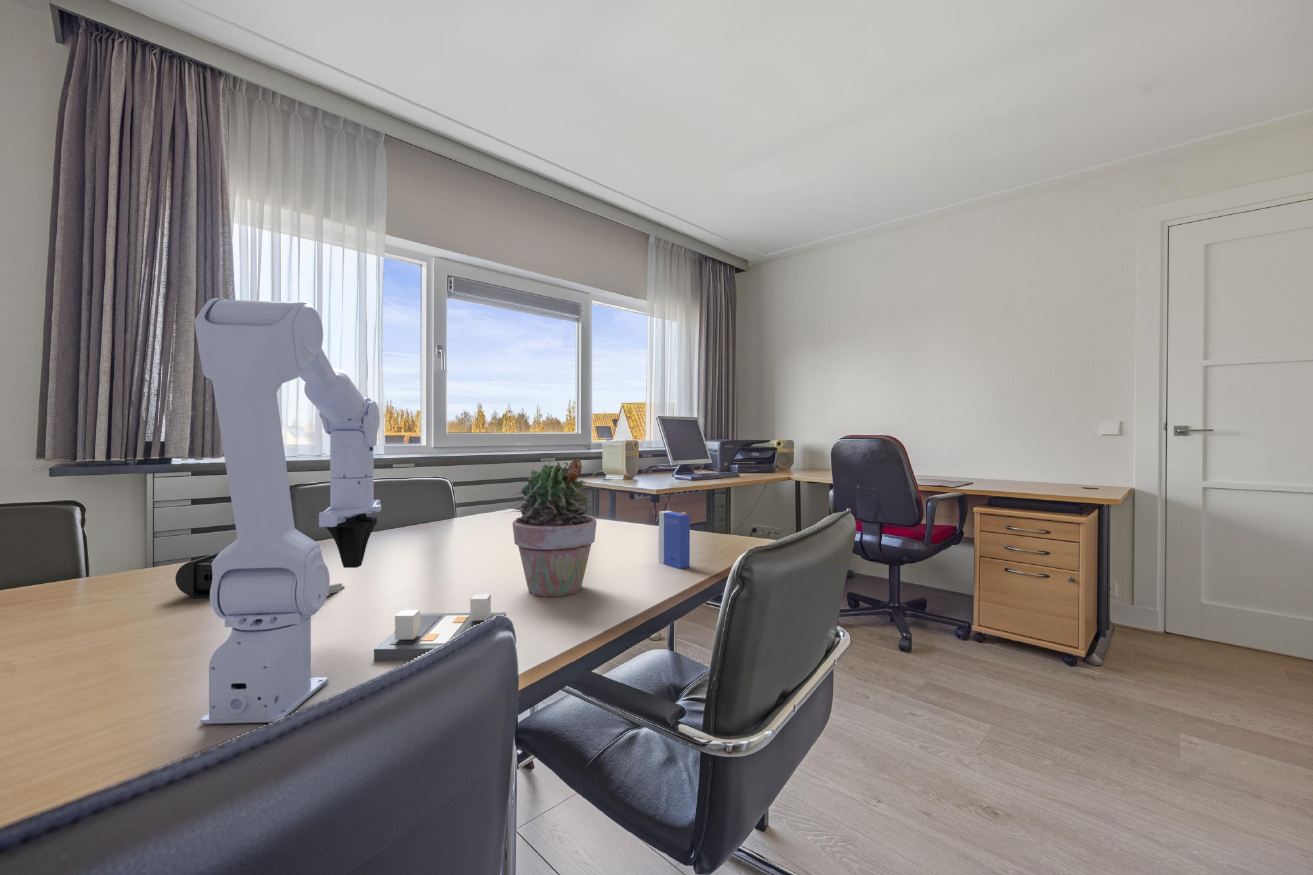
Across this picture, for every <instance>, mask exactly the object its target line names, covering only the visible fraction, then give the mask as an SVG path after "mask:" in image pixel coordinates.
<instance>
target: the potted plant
mask: <svg viewBox="0 0 1313 875" xmlns="http://www.w3.org/2000/svg"><path fill="white" fill-rule="evenodd" d="M564 464H565V466H564V467H562V465H564ZM582 467H583V466H582V461H581V460H580V459H577V458H575V459H573V460H572V461H571V462H570V463H569V462H568V461H565V462H563V463H562V464H560V461H557V465H550V464H549V465H547V464H544V465H542V467H541V470H539V471H537V470H534V469H532V470H531V472H530V476H529V477H528V480H527V484H526V485H525V486H523V488H522V489H521V491H519V492H518V493H515V494H513V495H512V497H514V496H516V495H519V494H522V495H523V496H524V497H523V499H524V500H521V501H519V502H518V503H515V504H513V505H512V506H510V508H511V507H514V506H517V505H518V504H520V503H521V504H520V507H518V508H516V509H514V510H512V511H510V512H507V514H509V513H510V514H511V513H512V512H513V513H514V512H515V513H519V514H518V515H517V516H519V515H520V514H521V516H519V517H517V518H515V519H514V520H513V521H512V531H513V541H514V545H516V546H517V548H518V552H519V555H520V559H521V563H522V568H523V573H524V577H525V578H524V579H525V582H526V585H527V589H528V592H529V594H532V595H533V596H535V597H536V596H537V597H542V598H556V597H557V598H558V597H559V598H560V597H565V596H571V595H574V594H576V593H579V592H580V590H581V589H582V587H583V582H584V578H585V573H586V569H587V564H588V561H589V560H588V559H589V557H590V556H589V555H590V551H591V548H592V544H593V543H595V541H596V540H595V539H596V532H597V531H596V529H597V518H595V517H594V516H591V515H588V513H587V512H588V510H590V509H592V508H591V507H590V508H589V506H588V505H587V507H586V506H583V505H584V504H586V503H587V502H589V503H591V501H589V500H587V499H590V496H587V495H586V491H585V489H591V487H589V486H586V481H584V480H583V479H581V480H578V479H579V478H580V474H581V473H582ZM593 489H595V490H597V489H598V488H596V487H595V488H594V487H593ZM601 490H604V489H602V488H601ZM585 513H586V514H585ZM502 514H504V515H505V512H504V513H502Z"/></svg>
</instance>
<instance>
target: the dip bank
mask: <svg viewBox="0 0 1313 875" xmlns="http://www.w3.org/2000/svg"><path fill="white" fill-rule="evenodd" d="M496 615H504V616H506V617H507V612H503V611H502V612H491V615H490V617H489V618H492V617H493V616H496ZM489 618H488V619H489ZM488 619H487V620H488ZM484 621H485V620H477V621H470V612H442V613H441V612H440V613H438V612H435V613H433V612H431V613H420V633H419V634H418V635H417V636H416V637H415V638H414V639H399V640H395V630H394V631H393V632H392V633H390V634H389V636H387V637H386V638H385V639H384V640H383V641H381V643H379V644H378V645H376V647H375V648H374V649H373V661H375V662H376V661H379V662H380V661H381V662H382V661H413V660H412V659H414V658H417V657H418V656H421V655H422V654H425V653H426V652H429V651H430V650H432V649H434V648H436V647H437V646H440V645H442V644H443V643H446V641H449V640H450V639H452V638H453V637H456V636H457V635H459V634H461V633H463V632H465V631H466V630H467V629H469V628H471V627H473V626H474V625H477V624H480V623H481V622H484Z"/></svg>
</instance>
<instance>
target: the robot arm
mask: <svg viewBox="0 0 1313 875" xmlns="http://www.w3.org/2000/svg"><path fill="white" fill-rule="evenodd" d="M321 319H322V318H321V316H320V315H319V312H318V311H317V309H315V307H314V306H313V305H312V304H311V303H310V302H308V301H304V300H299V301H296V302H295V301H272V300H270V301H269V300H244V299H243V300H242V299H241V300H239V299H225V298H220V297H215V298H210V299H209V300H208V301H206V303H205V304H204V305H203V307H202V308H201V309H200V312H199V313H198V314H197V316H196V317H195V318H194V328H195V335H196V341H197V342H196V343H197V347H198V353H199V359H200V365H201V370H202V375H203V376H204V377H205V378H207V379H209V380H211V382H212V389H213V394H214V401H215V406H216V412H217V413H216V414H217V419H218V425H219V431H220V437H221V439H220V440H221V443H222V444H221V445H222V449H223V457H224V462H225V469H226V475H227V482H228V486H229V487H228V488H229V493H230V499H231V505H232V512H233V519H234V524H235V530H236V536H237V537H236V538H237V539H235V540H234V541H232V543H230V544H229V545H227V546H226V547H225V548H223V549H222V550H221V551H219V552H220V553H219V554H218V555H217V557H216V558H215V559H214V561H213V562H212V564H211V565H212V585H211V589H210V598H209V600H210V601H209V602H210V605H211V608H212V610H213V611H214V614H215V615H216V616H217V617H218V618H220V619H223V620H224V628H231V632H230V635H229V636H228V638H227V639H226V641H225V642H223V643H222V644H221V645H220V646H218V647H217V649H216V650H215V651H214V652H213V654H212V655H211V658H210V660H209V664H208V713H207V714H205V715H204V716H202V717H201V718H200V724H202V725H208V724H209V725H211V724H214V725H215V724H216V725H218V724H254V723H258V724H260V723H261V724H263V723H273V722H272V721H276V720H278V719H280V718H282V717H285V716H286V715H287V716H288V715H289V714H291V713H292V712H294V711H295V710H296V709H297V708H298V707H299V706H300V705H302V704H303V703H304V702H305V701H306V700H307V699H309V698H310V697H311V696H312V695H313V694H314V693H316V692H317V691H319V689H320V688H322V687H323V686H324V685H325V684H326V683H328V682H329V681H328V677H325V676H323V677H322V676H321V677H315V676H314V677H312V616H314V615H315V614H317V612H318V611H319V610H320V609H321V608H322V607H323V606H324V604H325V602H326V601H327V597H328V595H329V594H328V591H329V585H330V580H331V578H330V571H329V568H328V566H327V565H326V563H325V561H324V557H323V554H322V549H321V545H320V543H319V542H317V541H315V540H314V539H312V538H311V537H309V536H308V535H306V534H304V533H302V532H301V531H299V530H298V529H297V528H296V527H295V520H294V513H293V505H292V497H291V490H290V482H289V477H288V476H289V475H288V469H287V468H288V467H287V460H286V452H285V445H284V444H285V443H284V438H283V431H282V430H283V429H282V424H281V414H280V408H279V401H278V400H279V399H278V391H279V390H280V388H281V386H282V385H283V384H285V383H287V382H290V381H292V380H296V379H298V378H300V379H301V380H302V381H303V382H304V394H305V396H306V398H307V399H308V400H309V401H310V402H311V404H313V406H315V408H316V409H317V410H318V411H319V417H320V418H319V419H321V421H322V427H323V430H324V432H325V434H327V435H329V438H330V440H329V441H330V442H329V443H330V445H329V450H330V453H329V455H330V456H329V458H330V461H329V462H330V463H329V464H330V465H329V468H330V469H329V470H330V474H329V475H330V480H329V482H330V484H329V485H330V491H329V492H330V495H329V496H330V498H329V499H330V506H329V507H328V508H326V509H325V510H324V511H321V512H319V513H318V527H319V528H326V529H327V531H328V532H329V533H330V535H331V536H332V538H333V540H334V542H335V544H336V548H337V550H338V552H339V557H340V561H341V564H342V567H343V568H344V569H346V568H347V569H348V568H349V569H352V568H353V569H355V568H359V567H361V566H362V564H363V561H364V557H365V554H366V553H365V552H366V549H367V546H368V545H367V544H368V541H369V539H370V536H371V534H372V532H373V530H374V528H375V527H376V524H377V523H378V518H377V517H376V516H367V515H369V514H372V513H379V512H381V510H382V505H381V499H374V488H375V487H374V447H375V446H376V447H377V442H378V431H379V428H380V424H381V423H380V422H381V417H380V416H381V415H380V409H379V405H378V404H377V402H376V401H374V400H372V399H371V398H370V397H363V395H362V393H361V392H360V391H359V389H358V388H357V386H356V385H355V384H354V382H353V381H352V379H351V378H350V377H349V376H348V374H347V373H346V371H343V370H342V369H341V368H335V367H333V366H332V365H331V362H330V361H329V359H328V358H327V356H326V354H325V352H324V350H323V348H322V347H323V342H324V328H323V322H322V320H321ZM287 716H286V717H287ZM286 717H285V718H286Z"/></svg>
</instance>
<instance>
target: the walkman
mask: <svg viewBox="0 0 1313 875" xmlns="http://www.w3.org/2000/svg"><path fill="white" fill-rule="evenodd" d="M690 516H691V515H690V514H688V513H687V512H684V511H681V512H677V511H671V510H661V511H658V563H661V564H663V565H667V566H670V567H673V568H676V569H680V570H681V569H687V568H690V564H691V562H690V560H691V559H690V558H691V557H690V554H691V552H690V551H691V550H690V549H691V548H690V547H691V546H690V545H691V543H690V542H691V538H690V537H691V535H690V534H691V528H690V527H691V524H690V523H691V517H690Z"/></svg>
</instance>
